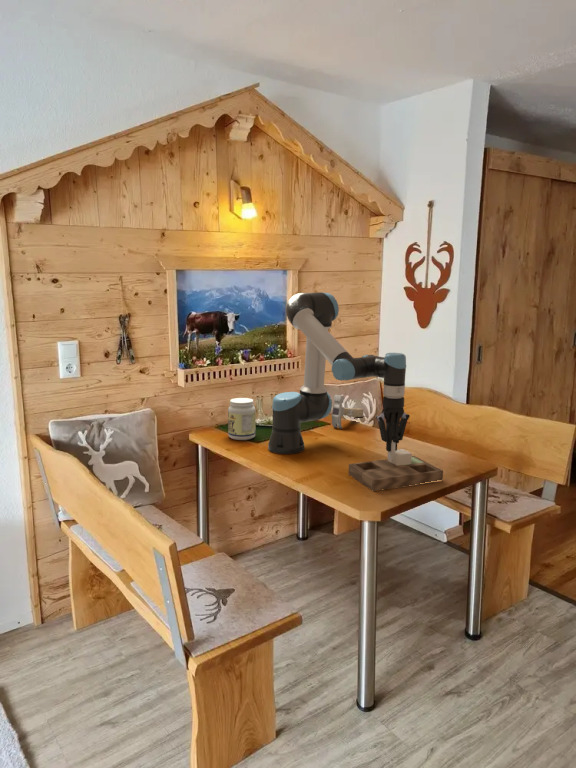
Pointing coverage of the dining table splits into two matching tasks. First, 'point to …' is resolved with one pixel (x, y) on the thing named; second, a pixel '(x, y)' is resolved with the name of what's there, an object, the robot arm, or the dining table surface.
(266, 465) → the dining table surface
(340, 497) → the dining table surface
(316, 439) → the dining table surface
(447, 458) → the dining table surface
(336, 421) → the hammer
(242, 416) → the supplement tub
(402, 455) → the block
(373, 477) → the board
